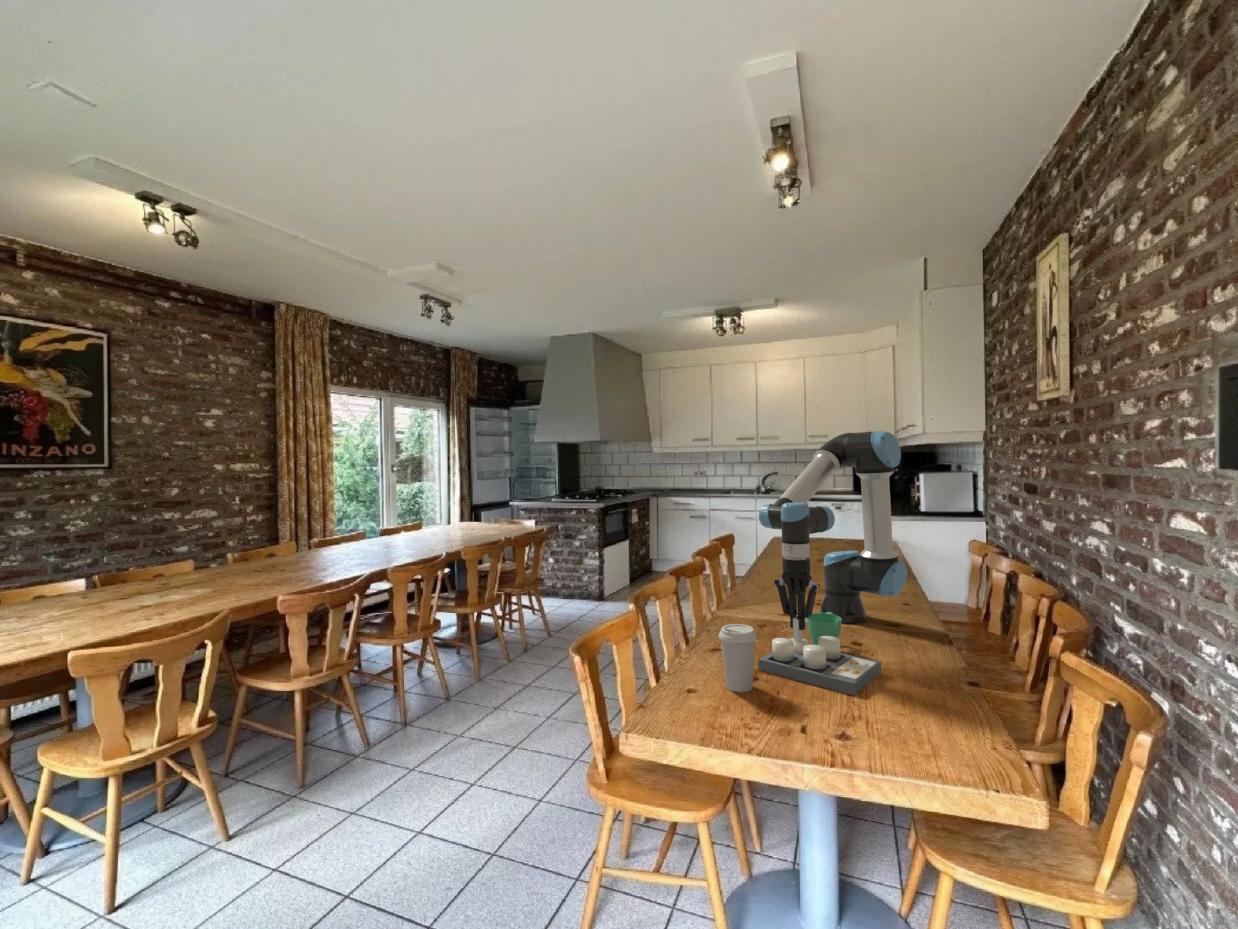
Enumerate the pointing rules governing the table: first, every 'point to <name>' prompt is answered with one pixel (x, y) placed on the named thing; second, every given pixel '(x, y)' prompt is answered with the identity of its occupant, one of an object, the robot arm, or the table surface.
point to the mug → (823, 625)
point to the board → (826, 672)
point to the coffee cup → (738, 656)
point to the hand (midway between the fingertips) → (798, 640)
